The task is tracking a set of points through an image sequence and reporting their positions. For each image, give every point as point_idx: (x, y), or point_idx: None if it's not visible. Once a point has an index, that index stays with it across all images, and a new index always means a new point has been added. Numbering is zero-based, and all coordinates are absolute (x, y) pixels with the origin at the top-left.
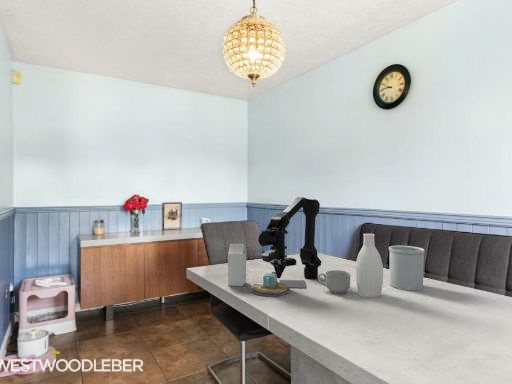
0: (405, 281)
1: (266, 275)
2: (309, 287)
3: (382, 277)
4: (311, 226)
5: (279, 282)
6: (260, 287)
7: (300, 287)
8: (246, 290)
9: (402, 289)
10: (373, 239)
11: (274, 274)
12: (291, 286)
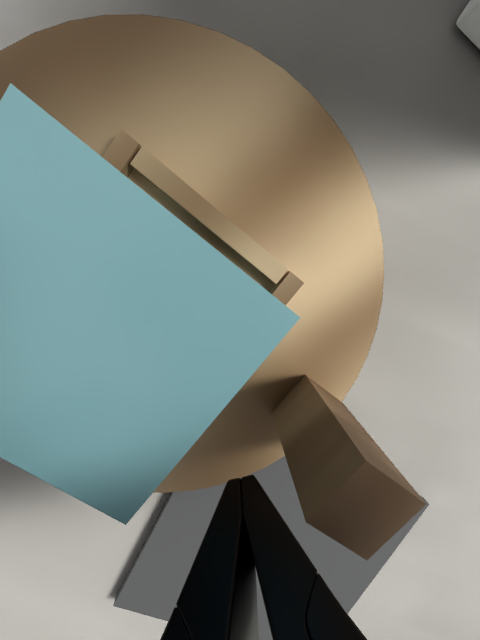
0: None
1: (32, 210)
2: (133, 623)
3: None
4: None
5: (273, 457)
6: (162, 152)
7: (132, 569)
8: (277, 4)
9: None
10: None
11: (79, 454)
12: (186, 516)
